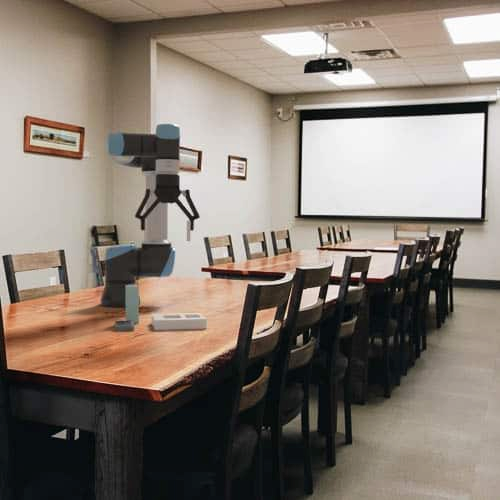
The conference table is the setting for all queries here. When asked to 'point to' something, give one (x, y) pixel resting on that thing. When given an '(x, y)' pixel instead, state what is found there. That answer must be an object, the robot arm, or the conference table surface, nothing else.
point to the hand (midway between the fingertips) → (167, 241)
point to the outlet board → (178, 321)
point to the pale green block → (132, 303)
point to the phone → (124, 325)
